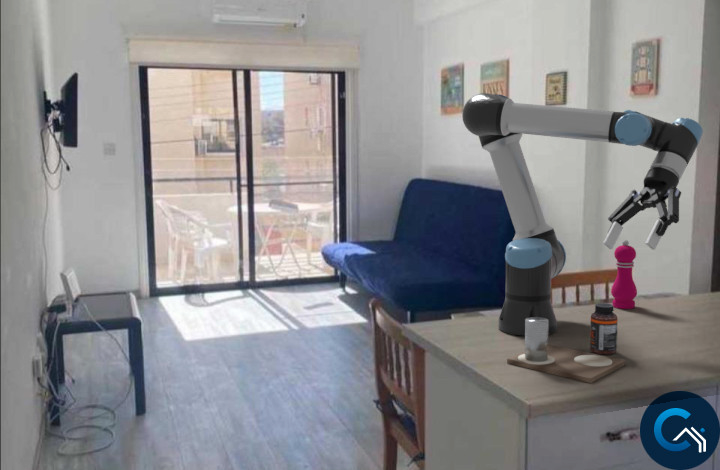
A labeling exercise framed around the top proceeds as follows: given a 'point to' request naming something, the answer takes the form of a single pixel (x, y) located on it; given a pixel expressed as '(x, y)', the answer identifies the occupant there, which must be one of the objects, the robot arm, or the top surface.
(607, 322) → the supplement bottle
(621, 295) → the pepper mill
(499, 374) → the top surface
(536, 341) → the pin
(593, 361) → the board
